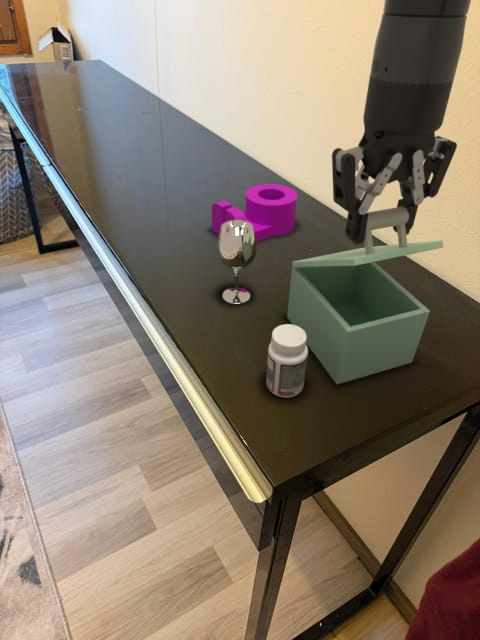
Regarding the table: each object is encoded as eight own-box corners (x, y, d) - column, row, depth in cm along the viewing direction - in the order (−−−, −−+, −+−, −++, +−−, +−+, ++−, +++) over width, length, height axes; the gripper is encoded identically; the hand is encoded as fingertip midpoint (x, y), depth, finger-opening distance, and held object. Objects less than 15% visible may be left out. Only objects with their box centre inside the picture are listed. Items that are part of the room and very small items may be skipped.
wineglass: (210, 296, 72) (208, 228, 64) (234, 281, 75) (235, 214, 68) (238, 311, 69) (239, 241, 62) (261, 294, 73) (265, 226, 65)
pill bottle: (309, 380, 58) (317, 330, 53) (292, 404, 55) (299, 354, 50) (277, 366, 60) (281, 316, 55) (258, 388, 57) (261, 338, 52)
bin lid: (443, 247, 51) (438, 199, 50) (354, 266, 48) (348, 215, 47) (364, 252, 66) (360, 216, 65) (292, 267, 62) (286, 228, 62)
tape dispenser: (273, 208, 97) (275, 180, 93) (304, 227, 91) (307, 197, 87) (210, 228, 90) (209, 198, 86) (239, 249, 83) (239, 218, 79)
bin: (412, 362, 61) (430, 310, 55) (336, 384, 58) (348, 332, 52) (353, 301, 72) (363, 252, 66) (286, 317, 68) (291, 267, 63)
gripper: (369, 85, 37) (340, 263, 48) (502, 74, 42) (450, 240, 52) (323, 70, 43) (307, 233, 53) (445, 62, 47) (408, 214, 57)
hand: (378, 236), depth 53 cm, fingers closed on bin lid, 5 cm apart
